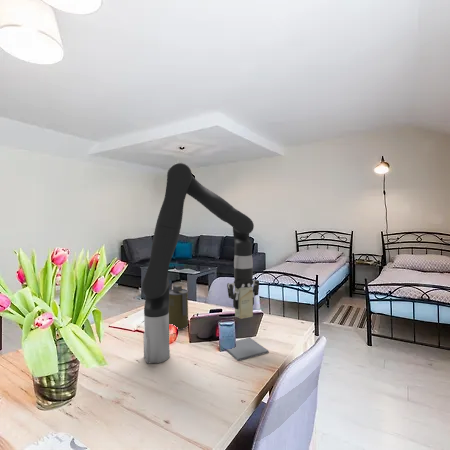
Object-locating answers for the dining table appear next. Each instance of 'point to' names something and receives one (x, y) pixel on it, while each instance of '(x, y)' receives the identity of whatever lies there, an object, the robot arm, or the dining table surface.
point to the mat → (246, 349)
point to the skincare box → (245, 303)
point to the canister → (178, 307)
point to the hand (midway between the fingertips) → (243, 307)
